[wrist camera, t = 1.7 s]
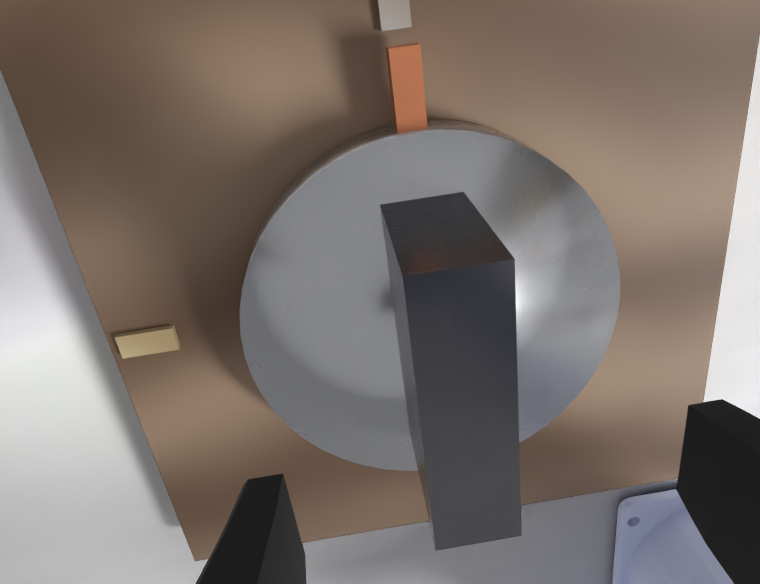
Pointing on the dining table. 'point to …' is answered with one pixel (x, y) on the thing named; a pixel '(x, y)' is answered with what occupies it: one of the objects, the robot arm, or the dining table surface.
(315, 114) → the dial plate
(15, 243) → the dining table surface
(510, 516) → the dial
